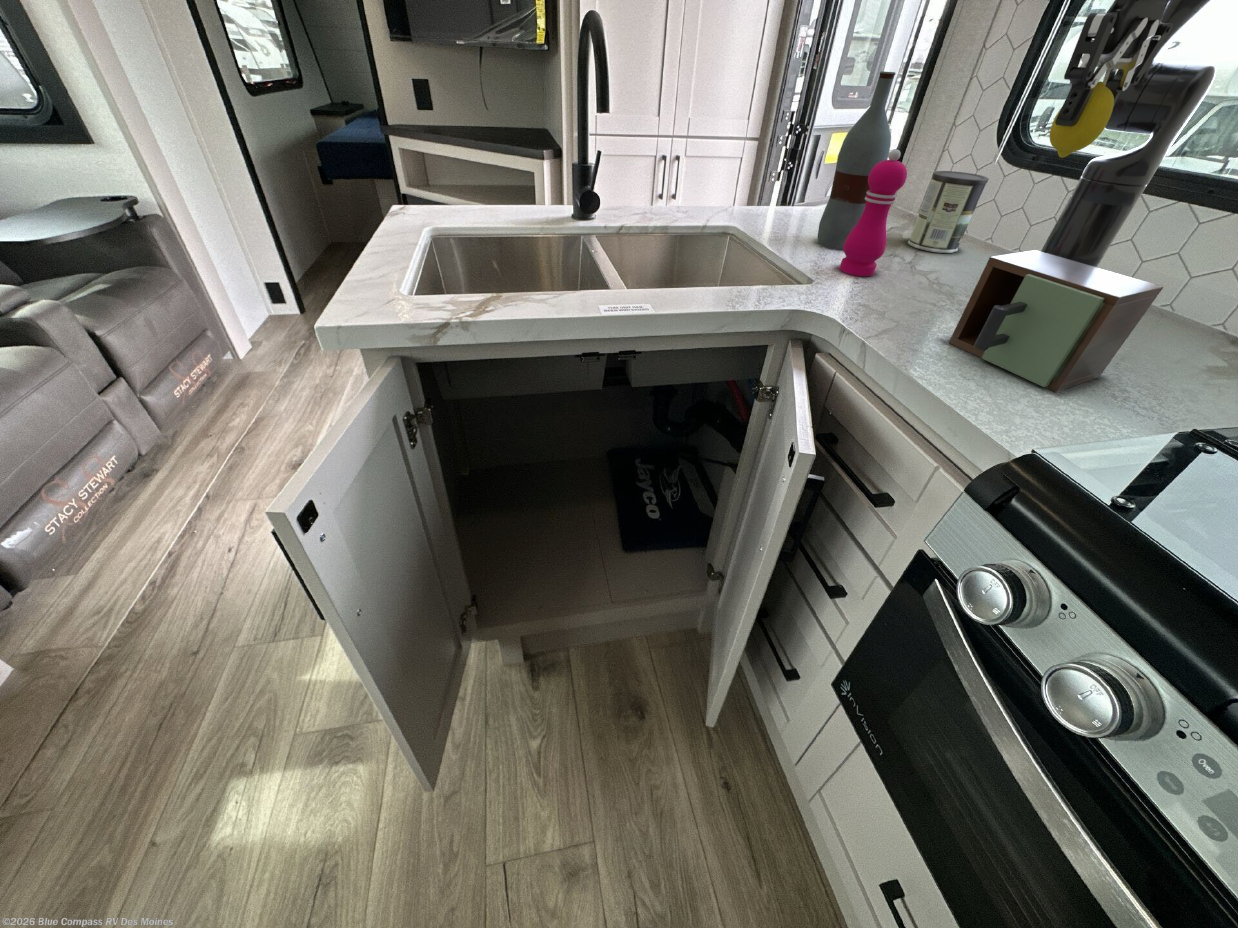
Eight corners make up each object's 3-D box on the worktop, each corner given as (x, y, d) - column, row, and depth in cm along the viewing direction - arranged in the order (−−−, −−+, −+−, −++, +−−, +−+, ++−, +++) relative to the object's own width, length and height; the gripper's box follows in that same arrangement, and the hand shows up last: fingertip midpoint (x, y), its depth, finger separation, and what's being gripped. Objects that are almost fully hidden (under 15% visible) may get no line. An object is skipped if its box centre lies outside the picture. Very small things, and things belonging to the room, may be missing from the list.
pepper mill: (857, 279, 94) (899, 153, 81) (828, 267, 99) (864, 146, 86) (884, 275, 97) (929, 152, 84) (854, 263, 102) (893, 146, 89)
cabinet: (1055, 392, 63) (1119, 297, 56) (948, 342, 74) (989, 256, 66) (1099, 377, 67) (1164, 286, 60) (991, 332, 77) (1034, 249, 70)
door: (1018, 396, 61) (1074, 305, 54) (955, 365, 67) (999, 279, 60) (1047, 386, 64) (1105, 298, 57) (984, 357, 69) (1029, 274, 62)
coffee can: (943, 241, 118) (972, 172, 109) (966, 254, 110) (999, 181, 101) (899, 238, 118) (925, 169, 109) (919, 252, 110) (948, 178, 101)
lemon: (1095, 162, 64) (1139, 83, 59) (1047, 158, 65) (1086, 80, 60) (1074, 157, 69) (1113, 82, 64) (1029, 153, 69) (1064, 79, 64)
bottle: (856, 241, 114) (910, 73, 96) (861, 253, 107) (921, 74, 89) (813, 236, 116) (857, 70, 97) (815, 247, 109) (864, 70, 90)
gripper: (1185, -81, 49) (1077, 129, 59) (1250, -58, 54) (1141, 130, 65) (1099, -70, 54) (1014, 122, 65) (1166, -50, 59) (1078, 124, 70)
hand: (1078, 125), depth 65 cm, fingers closed on lemon, 5 cm apart
